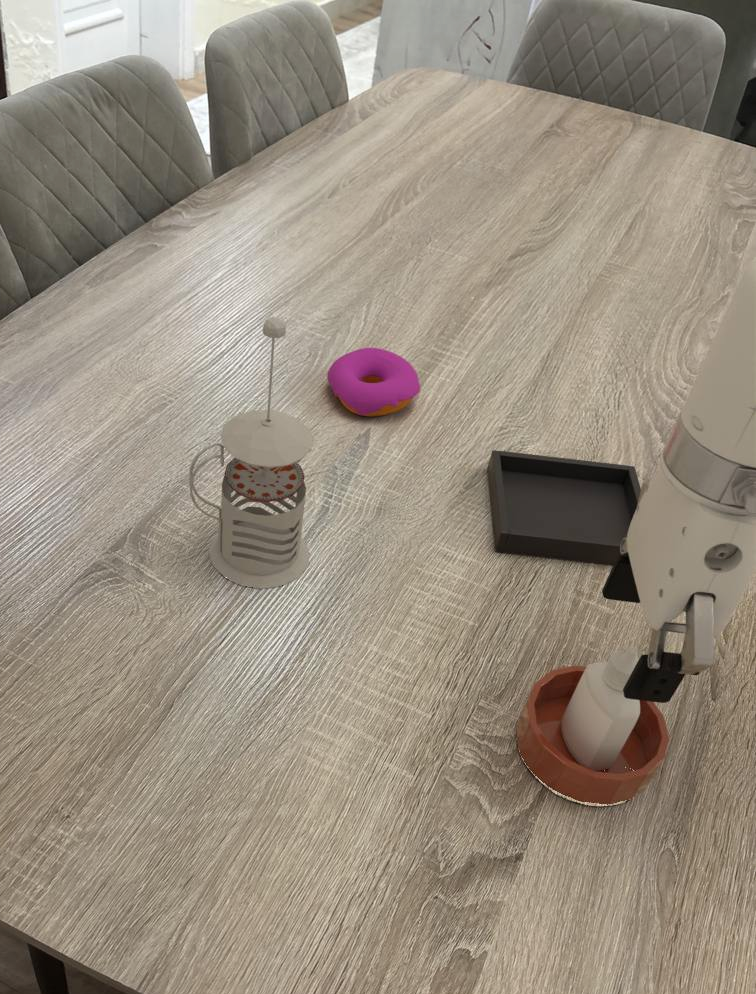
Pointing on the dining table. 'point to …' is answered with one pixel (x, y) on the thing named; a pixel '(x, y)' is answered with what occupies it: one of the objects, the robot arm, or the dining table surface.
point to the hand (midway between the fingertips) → (632, 645)
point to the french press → (261, 493)
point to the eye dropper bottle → (601, 712)
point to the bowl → (559, 767)
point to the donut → (373, 381)
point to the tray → (560, 506)
